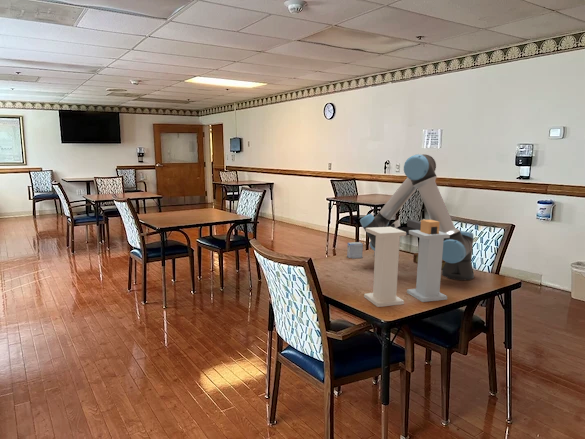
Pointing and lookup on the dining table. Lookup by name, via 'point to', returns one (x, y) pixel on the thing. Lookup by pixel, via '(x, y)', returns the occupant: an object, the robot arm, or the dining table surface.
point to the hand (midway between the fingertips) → (412, 222)
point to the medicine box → (354, 250)
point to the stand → (385, 266)
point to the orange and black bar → (425, 226)
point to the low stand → (429, 266)
